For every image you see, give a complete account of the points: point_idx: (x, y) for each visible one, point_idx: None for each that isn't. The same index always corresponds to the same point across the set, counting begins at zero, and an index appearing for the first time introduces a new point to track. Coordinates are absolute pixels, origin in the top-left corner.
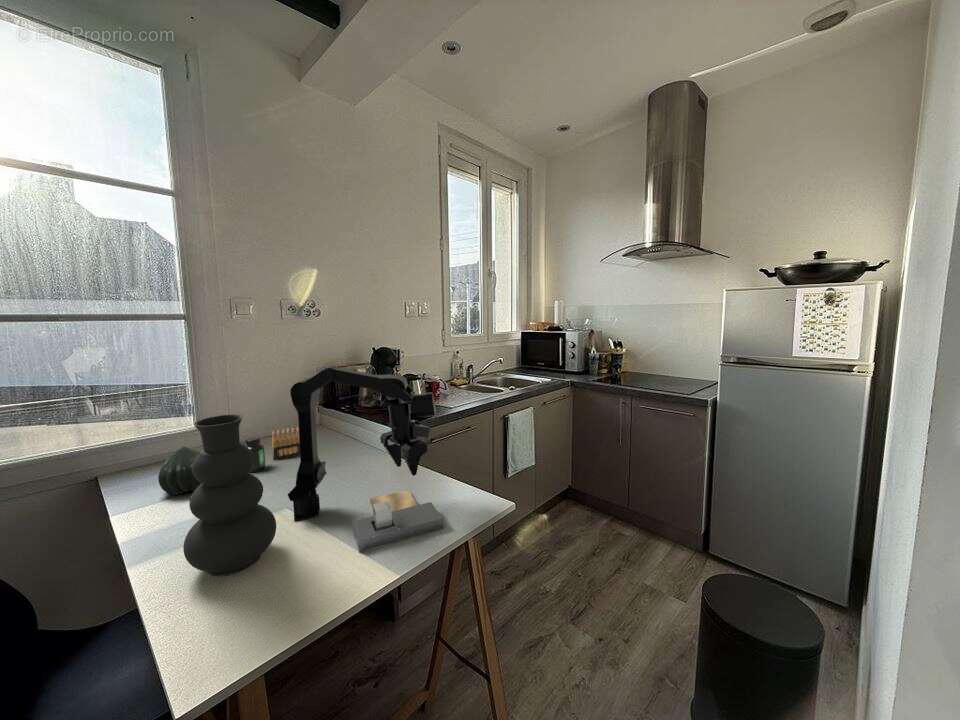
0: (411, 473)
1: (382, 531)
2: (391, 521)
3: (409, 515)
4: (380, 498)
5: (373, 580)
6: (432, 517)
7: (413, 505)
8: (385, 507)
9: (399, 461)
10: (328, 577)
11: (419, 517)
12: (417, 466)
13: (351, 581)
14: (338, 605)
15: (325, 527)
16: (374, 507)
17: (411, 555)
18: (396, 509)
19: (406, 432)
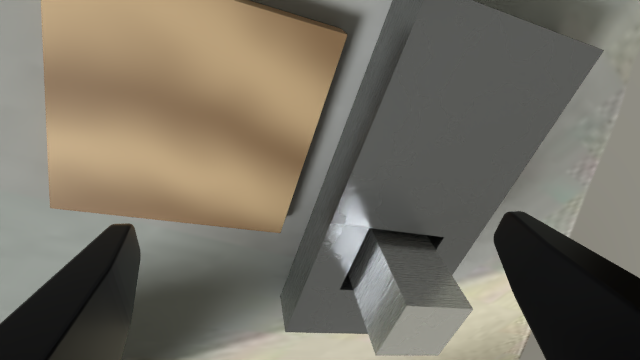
0: (508, 267)
1: None
2: (439, 258)
3: (435, 164)
4: (83, 165)
5: (513, 298)
6: (548, 88)
7: (304, 52)
8: (448, 325)
9: (116, 290)
10: (419, 356)
11: (489, 137)
12: (629, 280)
13: (472, 328)
14: (502, 350)
15: (187, 349)
16: (406, 354)
17: (539, 206)
18: (275, 147)
19: None
